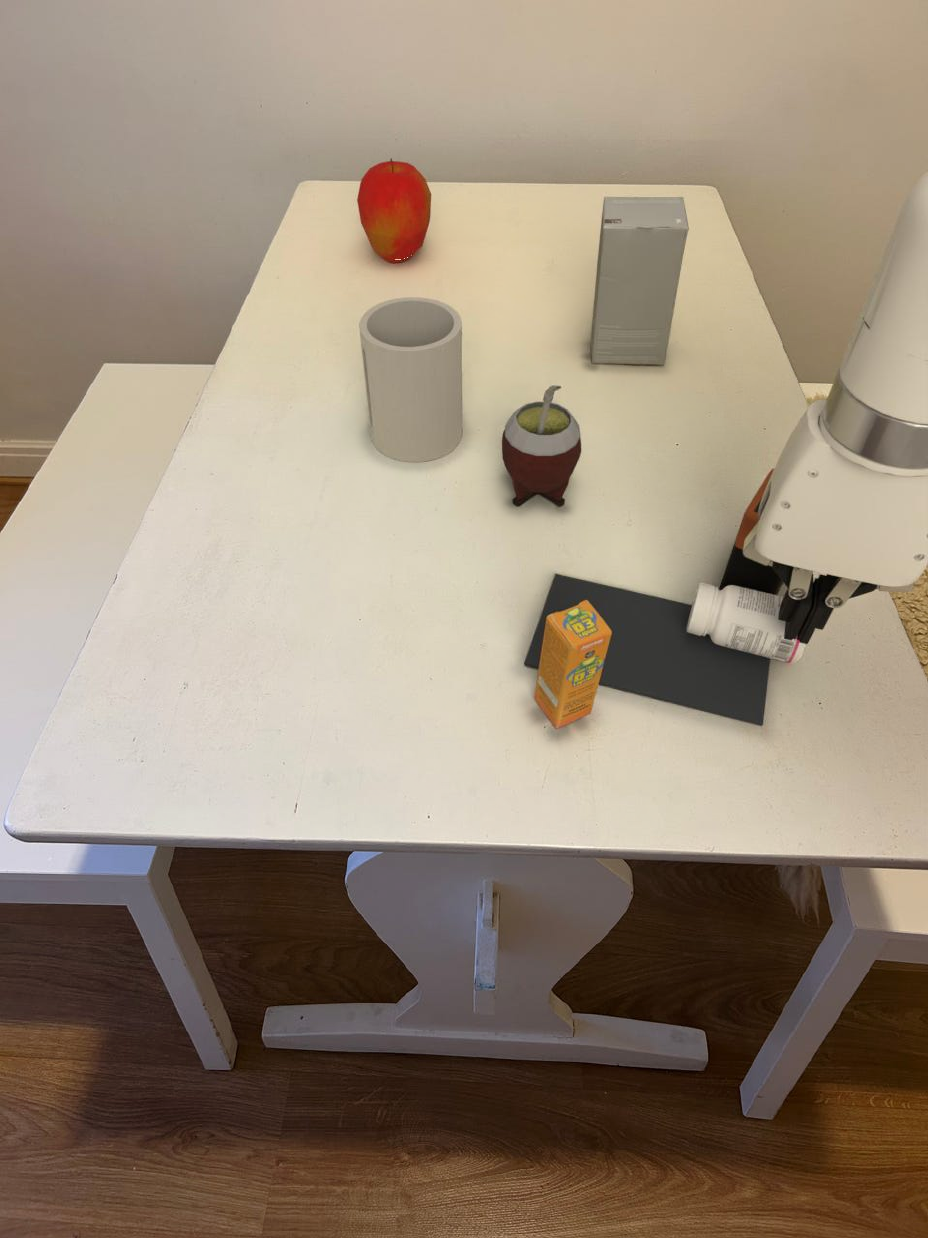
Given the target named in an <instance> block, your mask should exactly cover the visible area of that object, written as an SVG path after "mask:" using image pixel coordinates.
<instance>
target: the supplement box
mask: <svg viewBox="0 0 928 1238" xmlns="http://www.w3.org/2000/svg"><path fill="white" fill-rule="evenodd" d="M611 634H612V631H611V629H610V628H609V627H608V625H607V624H606V623H605V621H604V620H603V619H602V618H601V616H600V615H599V614H598V613H597V611H596V610H595V609H594V608H593V606H592V605H591V604H590V603H589V602H588V600H584V601H582V602H580V603H579V605H576V606H574V607H572V608H569V609H566V610H564V611H561V612H555V613H552V614H550V615H548V616H547V618H546V625H545V632H544V638H543V645H542V651H541V657H540V663H539V669H537V670H538V671H537V676H536V684H535V689H534V695H533V697H534V700H535V701H536V703H537V704H538V705H539V707H540V708H541V710H542V711H543V713H544V714H545V715H546V717H547V718H548V720H549V721H550V723H552V725H553V726H554V728H555V729H560V728H562V727H564V726H566V725H568V724H570V723H573V722H575V721H577V720H579V719H581V718H583V717H585V716H587V715H589V714H591V713H592V710H593V705H594V703H595V697H596V694H597V691H598V687H599V685H598V684H599V680H600V677H601V672H602V668H603V665H604V661H605V657H606V653H607V649H608V646H609V642H610V638H611Z"/></svg>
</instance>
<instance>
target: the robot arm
mask: <svg viewBox="0 0 928 1238" xmlns="http://www.w3.org/2000/svg"><path fill="white" fill-rule="evenodd" d="M898 213H899V214H898V217H897V219H896V220H895V221H896V222H895V224H894V226H893V230H892V232H891V234H890V237H889V239H888V242H887V244H886V247H885V249H884V252H883V254H882V257H881V260H880V263H879V265H878V268H877V270H876V272H875V274H874V278H873V279H872V282H871V285H870V287H869V290H868V293H867V295H866V298H865V300H864V303H863V305H862V309H861V311H860V312H859V313H860V314H859V316H858V318H857V321H856V324H855V327H854V329H853V331H852V333H851V337H850V340H849V342H848V345H847V347H846V349H845V352H844V355H843V358H842V360H841V362H840V364H839V365H840V366H839V368H838V370H837V373H836V375H835V378H834V380H833V383H832V385H831V388H830V390H829V392H828V395H827V398H818V399H816V400H814V401H813V402H812V403H810V404H809V405H808V407H807V408H806V410H805V411H804V412H803V414H802V415H801V417H800V419H799V420H798V422H797V424H796V425H795V427H794V429H793V430H792V432H791V433H790V435H789V437H788V439H787V441H786V443H785V445H784V447H783V449H782V451H781V453H780V455H779V458H778V459H777V462H776V464H775V466H774V467H773V468H774V470H773V473H772V475H771V477H770V480H769V482H768V484H767V487H766V489H765V492H764V494H763V497H762V500H761V503H760V506H759V510H758V517H760V520H759V521H758V523H757V524H756V525H755V527H754V528H753V529H752V531H751V532H750V533H749V534H748V536H747V537H746V538H745V541H744V548H743V555H744V556H745V557H746V558H749V559H751V560H753V561H756V562H758V563H761V564H763V565H765V566H768V565H769V566H771V567H772V568H773V570H774V571H775V573H776V574H777V575H778V576H779V578H780V579H781V580H782V581H783V585H785V587H786V588H787V589H786V591H785V592H784V595H783V597H784V598H783V600H782V602H781V605H780V609H779V615H778V620H782V621H786V623H785V632H784V639H787V640H791V641H792V639H796V637H797V640H799V642H800V643H804V644H806V645H808V644H809V643H810V640H811V639H812V637H813V636H814V635H813V634H814V632H815V631H816V630H820V631H823V630H824V629H825V627H826V625H827V623H828V621H829V620H830V618H831V615H832V613H833V612H834V609H840V608H842V607H843V606H844V605H845V604H846V603H847V602H848V600H850V599H853V598H856V597H860V596H863V595H865V594H869V593H872V592H875V591H876V590H878V592H893V593H908V592H911V591H913V590H914V588H915V583H916V581H918V579H919V578H920V577H921V576H922V574H923V573H924V572H925V570H926V568H927V567H928V170H927V171H926V172H924V173H923V174H922V175H921V176H920V177H919V178H918V180H917V181H916V182H915V183H914V185H913V186H912V188H911V189H910V190H909V192H908V193H907V195H906V198H905V200H904V202H903V204H902V207H901V209H900V211H899V212H898ZM813 572H816V573H820V574H818V575H819V576H818V577H814V574H813Z"/></svg>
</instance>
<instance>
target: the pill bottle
mask: <svg viewBox="0 0 928 1238" xmlns="http://www.w3.org/2000/svg"><path fill="white" fill-rule="evenodd" d="M783 598H784V596H781V595H778V594H777V595H773V594H769V593H765V592H760V591H756V590H752V589H748V588H743V587H739V586H734V585H729V586H726V587H725V588H724V589H723V590H719V586H715V584H708V583H703V582H699V583H698V585H697V587H696V592H695V594H694V598H693V602H692V604H691V605H692V608H691V612H690V616H689V620H688V624H687V630H686V631H687V632H688V633H692V634H695V635H699V636H701V635H703V636H705V635H706V634H709V635H710V637H711V640H712V641H713V643H715V644H717V645H720V646H724V647H728V648H732V649H736V650H740V651H744V652H748V653H752V654H756V655H759V656H763V657H767V658H770V660H775V661H780V662H783V663H787V664H796V663H798V662H799V661H800V660H801V658H802V657H803V654H804V652H805V649H806V646H807V644H804V643H800V642H799V640H797V637H796V639H792V641H791V640H787V639H784V632H785V623H786V621H782V620H778V615H779V609H780V605H781V602H782V600H783Z"/></svg>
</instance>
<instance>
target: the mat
mask: <svg viewBox="0 0 928 1238" xmlns="http://www.w3.org/2000/svg"><path fill="white" fill-rule="evenodd" d="M584 600H588V602H589V603H590V604H591V605H592V606H593V608H594V609H595V610H596V611H597V613H598V614H599V615H600V616H601V618H602V619H603V620H604V621H605V623H606V624H607V625H608V627H609V628H610V629H611V631H612V634H611V638H610V642H609V646H608V649H607V653H606V657H605V661H604V665H603V668H602V672H601V677H600V680H599V684H598V686H602V687H607V688H610V689H614V690H619V691H622V692H627V693H630V694H634V695H638V696H642V697H646V698H650V699H654V700H658V701H662V702H666V703H669V704H673V705H676V706H677V705H678V706H682V707H685V708H690V709H693V710H696V711H701V712H705V713H709V714H713V715H717V716H720V717H725V718H728V719H733V720H737V721H741V722H745V723H748V724H753V725H755V726H760V727H762V726H763V725H764V720H765V719H764V718H765V712H766V711H765V710H766V703H767V702H766V701H767V694H768V693H767V692H768V684H769V675H770V674H769V673H770V666H771V665H770V664H771V658H767V657H763V656H759V655H756V654H752V653H748V652H744V651H740V650H736V649H732V648H728V647H724V646H720V645H717V644H715V643H713V641H712V640H711V637H710V635H709V634H706V635H705V636H703V635H701V636H699V635H695V634H692V633H688V632H687V631H686V630H687V624H688V620H689V616H690V612H691V608H692V604H690V603H685V602H681V601H676V600H672V599H669V598H668V599H667V598H663V597H659V596H655V595H651V594H647V593H641V592H636V591H633V590H628V589H625V588H620V587H615V586H611V585H608V584H607V585H606V584H603V583H599V582H593V581H589V580H585V579H581V578H577V577H572V576H567V575H562V574H559V573H555V575H554V578H553V580H552V583H551V585H550V588H549V591H548V593H547V597H546V600H545V603H544V605H543V609H542V611H541V614H540V617H539V620H538V623H537V624H536V625H537V626H536V628H535V630H534V631H535V632H534V633H533V637H532V640H531V643H530V646H529V648H528V651H527V654H526V657H525V660H524V663H523V666H524V667H528V668H531V669H535V670H539V663H540V657H541V651H542V645H543V638H544V632H545V625H546V618H547V616H548V615H550V614H552V613H555V612H561V611H564V610H566V609H569V608H572V607H574V606H576V605H579V603H580V602H582V601H584Z"/></svg>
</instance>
